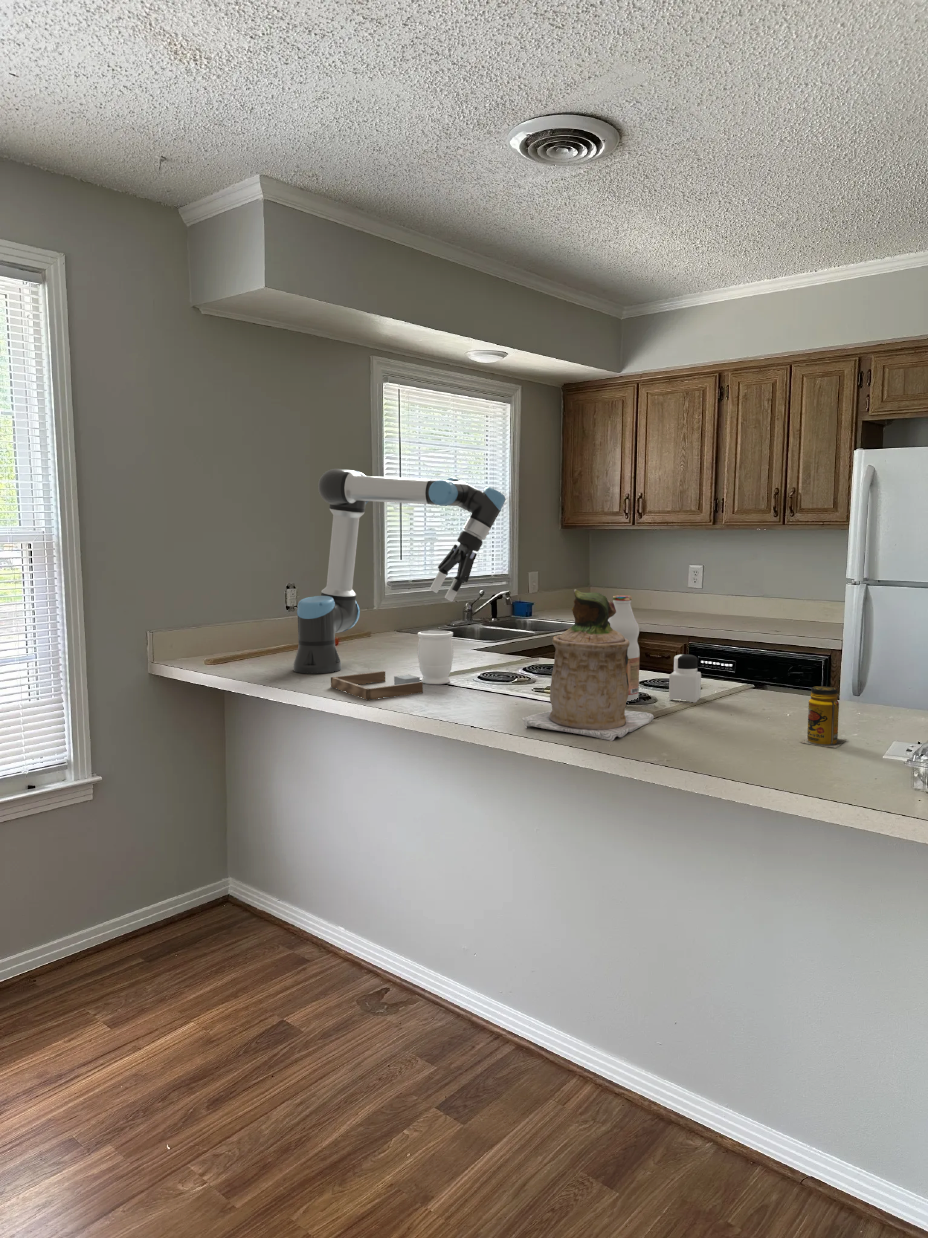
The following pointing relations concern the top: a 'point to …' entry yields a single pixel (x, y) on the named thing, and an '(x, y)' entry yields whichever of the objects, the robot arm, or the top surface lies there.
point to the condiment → (823, 718)
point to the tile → (405, 679)
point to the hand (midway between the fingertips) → (440, 595)
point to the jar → (435, 656)
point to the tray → (351, 681)
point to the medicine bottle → (685, 679)
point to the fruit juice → (630, 630)
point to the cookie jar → (590, 676)
